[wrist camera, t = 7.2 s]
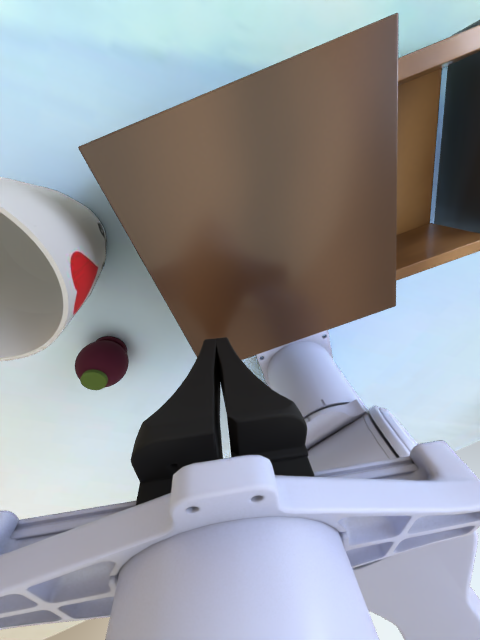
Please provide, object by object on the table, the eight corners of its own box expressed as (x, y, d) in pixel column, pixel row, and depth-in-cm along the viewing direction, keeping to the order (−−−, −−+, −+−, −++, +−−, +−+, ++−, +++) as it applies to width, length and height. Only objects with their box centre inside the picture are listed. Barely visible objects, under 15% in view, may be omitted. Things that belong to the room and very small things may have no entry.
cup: (92, 302, 22) (18, 385, 13) (-15, 234, 18) (-213, 289, 9) (148, 232, 19) (104, 278, 11) (39, 140, 16) (-156, 98, 7)
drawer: (547, -4, 15) (740, -104, 9) (500, 206, 21) (601, 217, 16) (276, 107, 16) (313, 73, 10) (309, 276, 22) (343, 308, 17)
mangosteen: (141, 357, 25) (130, 389, 21) (104, 370, 25) (86, 405, 22) (118, 324, 23) (101, 354, 19) (77, 339, 23) (52, 372, 19)
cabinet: (316, 80, 16) (399, 11, 9) (339, 267, 23) (396, 306, 16) (127, 158, 17) (77, 147, 10) (204, 316, 24) (205, 372, 17)
